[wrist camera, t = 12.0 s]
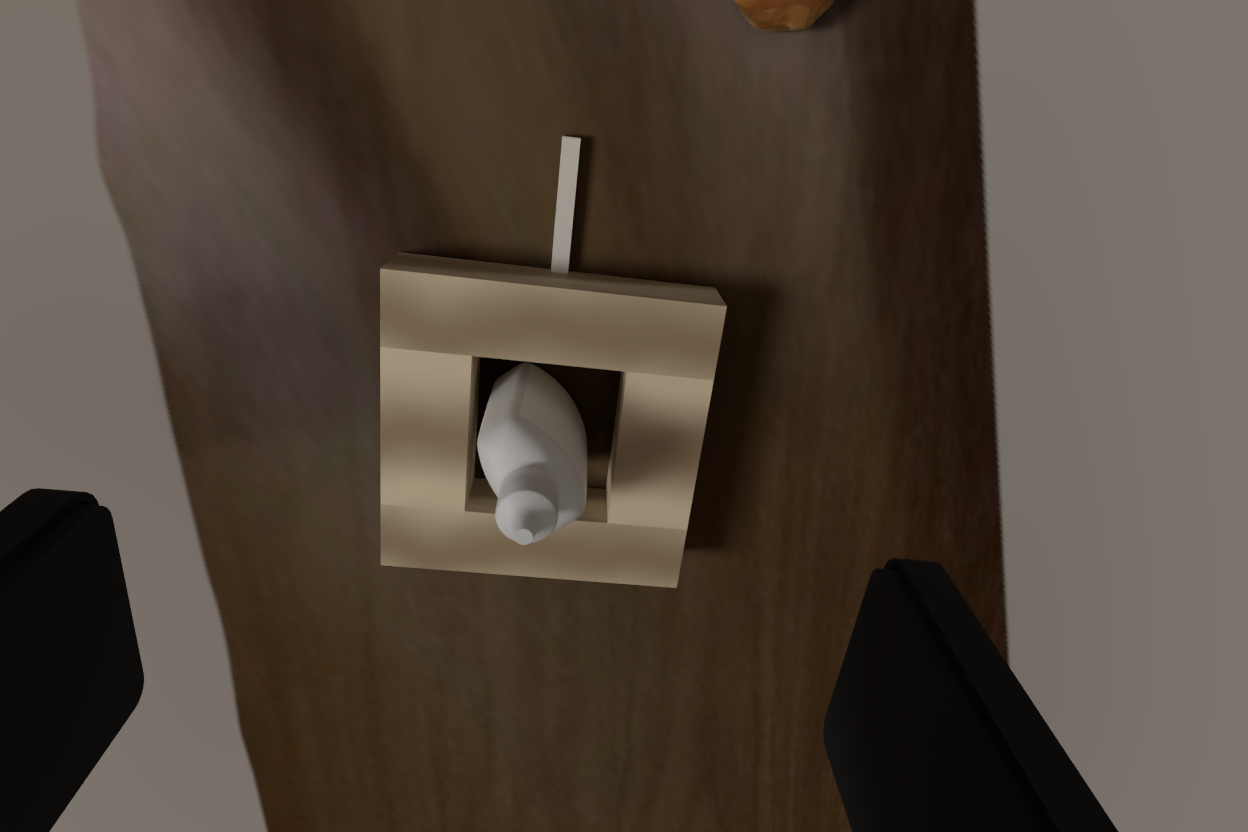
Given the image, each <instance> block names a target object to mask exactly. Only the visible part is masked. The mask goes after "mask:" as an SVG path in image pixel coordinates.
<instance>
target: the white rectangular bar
mask: <svg viewBox="0 0 1248 832" xmlns="http://www.w3.org/2000/svg"><path fill="white" fill-rule="evenodd" d="M580 141H581V138H579V137H571V136H562V147H561V159H560V171H559V182H558V194H557V206H556V217H555V229H554V241H553V253H552V264H551V272H556V273H565V274H568V268H569V258H570V247H571V237H572V226H573V216H574V205H575V194H576V184H577V173H578V163H579V152H580Z"/></svg>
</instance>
